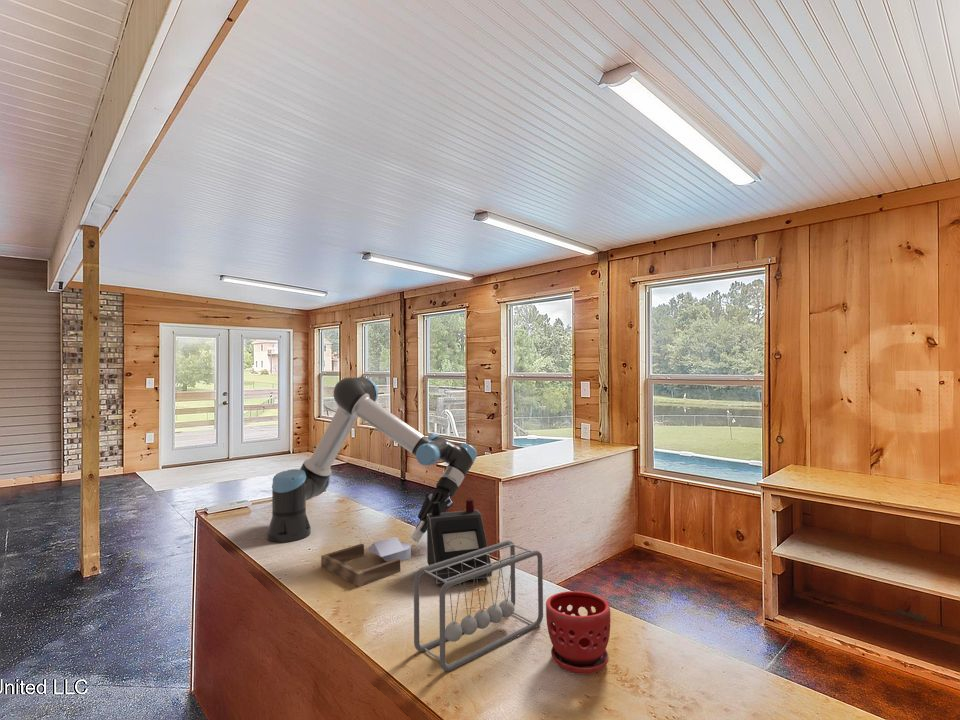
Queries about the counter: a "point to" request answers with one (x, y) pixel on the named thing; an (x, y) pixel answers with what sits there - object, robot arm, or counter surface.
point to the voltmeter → (455, 540)
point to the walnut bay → (359, 578)
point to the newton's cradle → (481, 617)
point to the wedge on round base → (391, 549)
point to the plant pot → (578, 631)
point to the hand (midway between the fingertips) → (414, 539)
